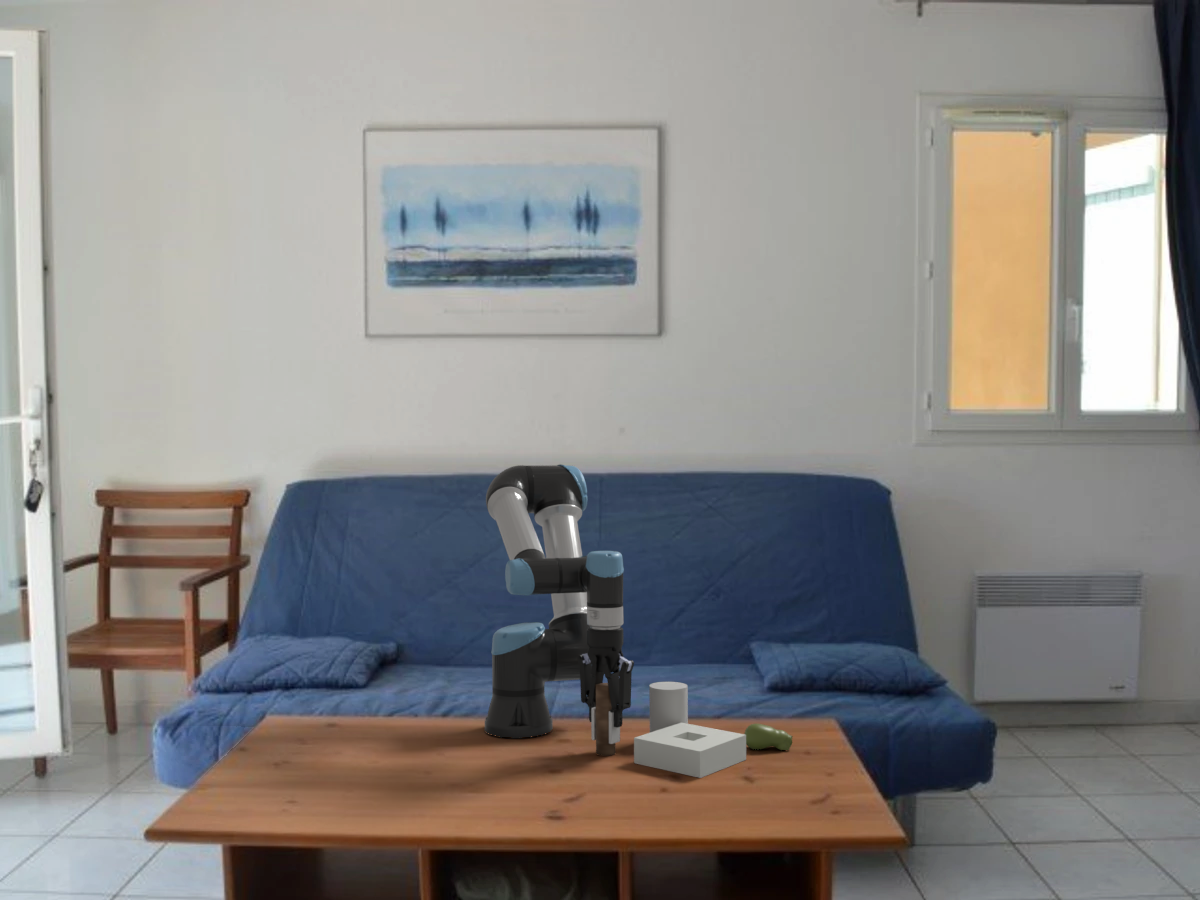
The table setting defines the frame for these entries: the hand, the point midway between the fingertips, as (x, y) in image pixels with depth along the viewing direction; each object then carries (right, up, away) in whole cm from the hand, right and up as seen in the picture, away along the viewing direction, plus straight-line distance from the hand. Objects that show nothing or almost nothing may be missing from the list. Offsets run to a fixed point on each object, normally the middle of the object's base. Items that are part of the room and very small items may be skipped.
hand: (605, 740), depth 224 cm
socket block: (+17, -3, -6) cm, 18 cm away
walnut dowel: (0, -3, 0) cm, 3 cm away
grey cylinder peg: (+13, -3, +9) cm, 16 cm away
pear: (+34, -3, +3) cm, 34 cm away
